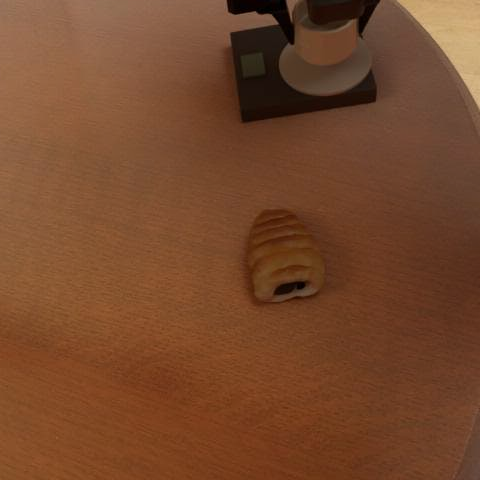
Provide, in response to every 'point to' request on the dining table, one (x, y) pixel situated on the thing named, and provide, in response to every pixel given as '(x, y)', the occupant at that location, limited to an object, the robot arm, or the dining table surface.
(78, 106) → the dining table surface
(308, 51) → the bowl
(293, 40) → the robot arm
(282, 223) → the pastry
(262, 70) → the scale
